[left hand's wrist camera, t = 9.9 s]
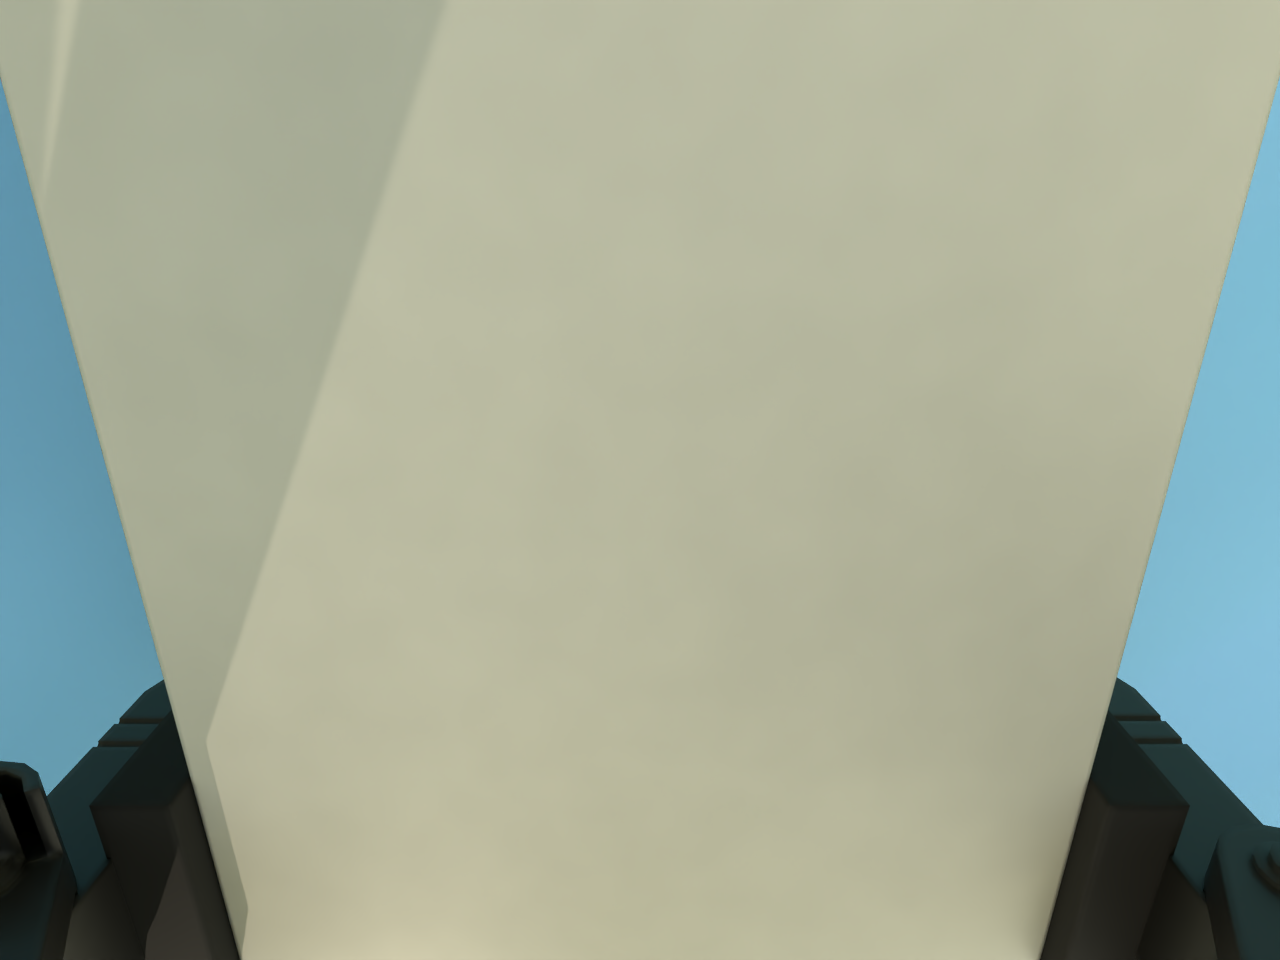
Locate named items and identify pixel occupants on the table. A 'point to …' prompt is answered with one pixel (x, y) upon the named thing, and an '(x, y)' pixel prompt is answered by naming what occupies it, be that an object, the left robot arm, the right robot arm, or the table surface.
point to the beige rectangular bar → (639, 441)
